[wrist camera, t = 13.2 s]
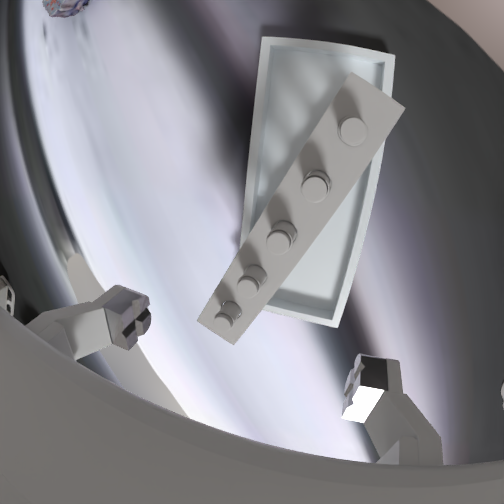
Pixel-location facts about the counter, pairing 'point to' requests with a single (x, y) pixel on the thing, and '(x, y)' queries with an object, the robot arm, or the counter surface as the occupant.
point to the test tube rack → (302, 204)
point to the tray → (286, 151)
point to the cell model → (64, 7)
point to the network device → (2, 298)
